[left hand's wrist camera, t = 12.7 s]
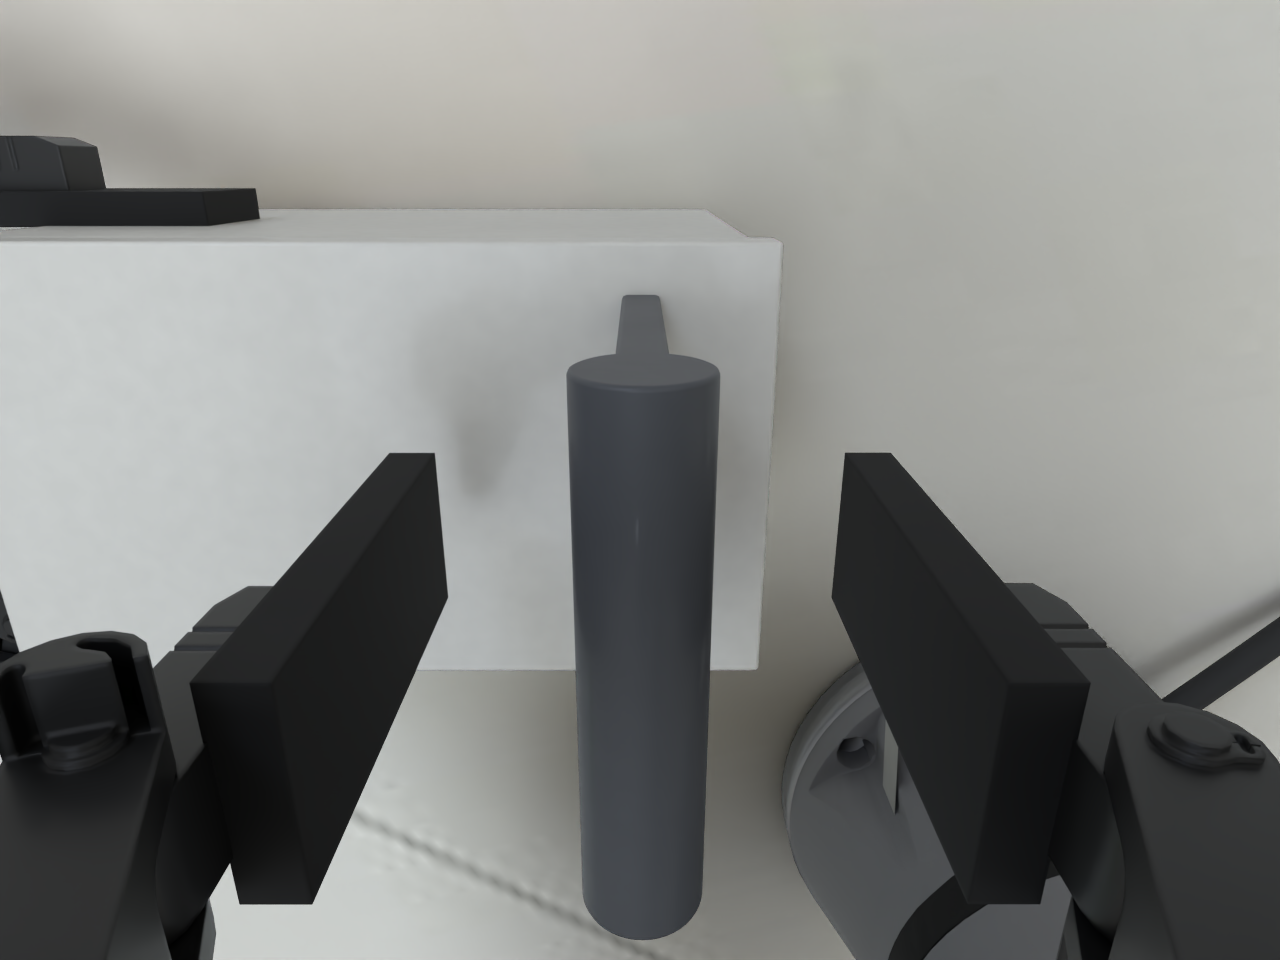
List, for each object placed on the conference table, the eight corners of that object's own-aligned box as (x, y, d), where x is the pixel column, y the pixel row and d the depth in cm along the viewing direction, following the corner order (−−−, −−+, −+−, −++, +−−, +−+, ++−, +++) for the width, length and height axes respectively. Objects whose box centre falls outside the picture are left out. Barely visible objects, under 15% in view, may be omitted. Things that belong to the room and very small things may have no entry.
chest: (707, 209, 26) (751, 237, 16) (700, 480, 29) (732, 646, 19) (209, 208, 26) (-64, 236, 16) (257, 480, 29) (54, 646, 19)
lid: (775, 237, 16) (912, 307, 8) (753, 647, 19) (833, 984, 11) (-66, 237, 16) (-762, 308, 8) (53, 648, 19) (-357, 987, 11)
